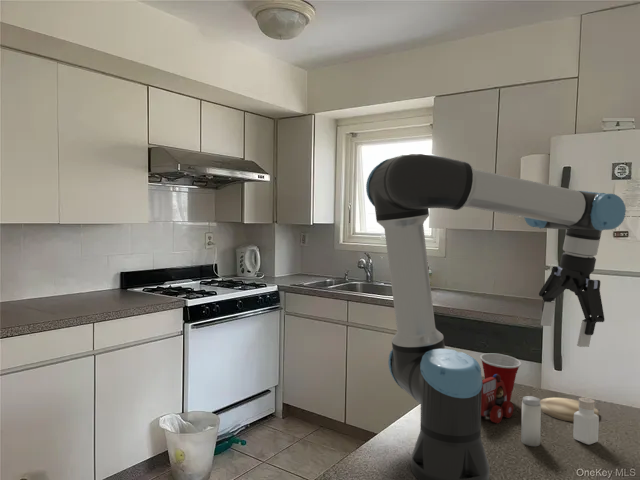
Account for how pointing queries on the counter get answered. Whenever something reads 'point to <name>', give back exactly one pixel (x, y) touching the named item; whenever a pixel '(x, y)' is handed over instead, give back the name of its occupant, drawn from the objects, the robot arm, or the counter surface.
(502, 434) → the counter surface
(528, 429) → the salt shaker
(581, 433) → the pepper shaker
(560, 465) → the counter surface
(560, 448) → the counter surface
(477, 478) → the robot arm
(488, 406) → the toy fire truck
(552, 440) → the counter surface
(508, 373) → the plastic cup
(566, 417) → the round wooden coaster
